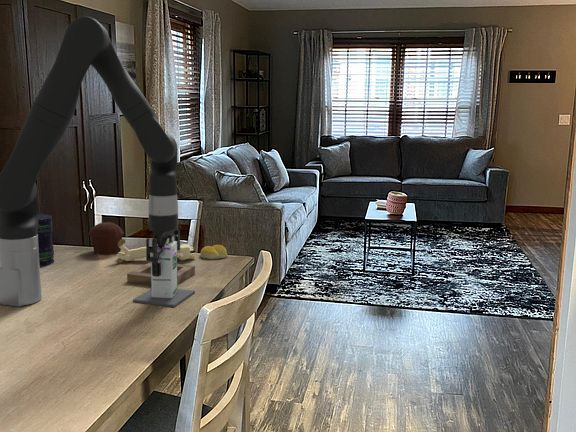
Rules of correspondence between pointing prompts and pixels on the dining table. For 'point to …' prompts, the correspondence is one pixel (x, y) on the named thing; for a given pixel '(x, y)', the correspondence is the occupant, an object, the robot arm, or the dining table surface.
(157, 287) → the syrup box
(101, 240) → the muffin
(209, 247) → the bread roll
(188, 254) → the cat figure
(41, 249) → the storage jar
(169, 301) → the charcoal mat
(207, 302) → the dining table surface
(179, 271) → the walnut socket
